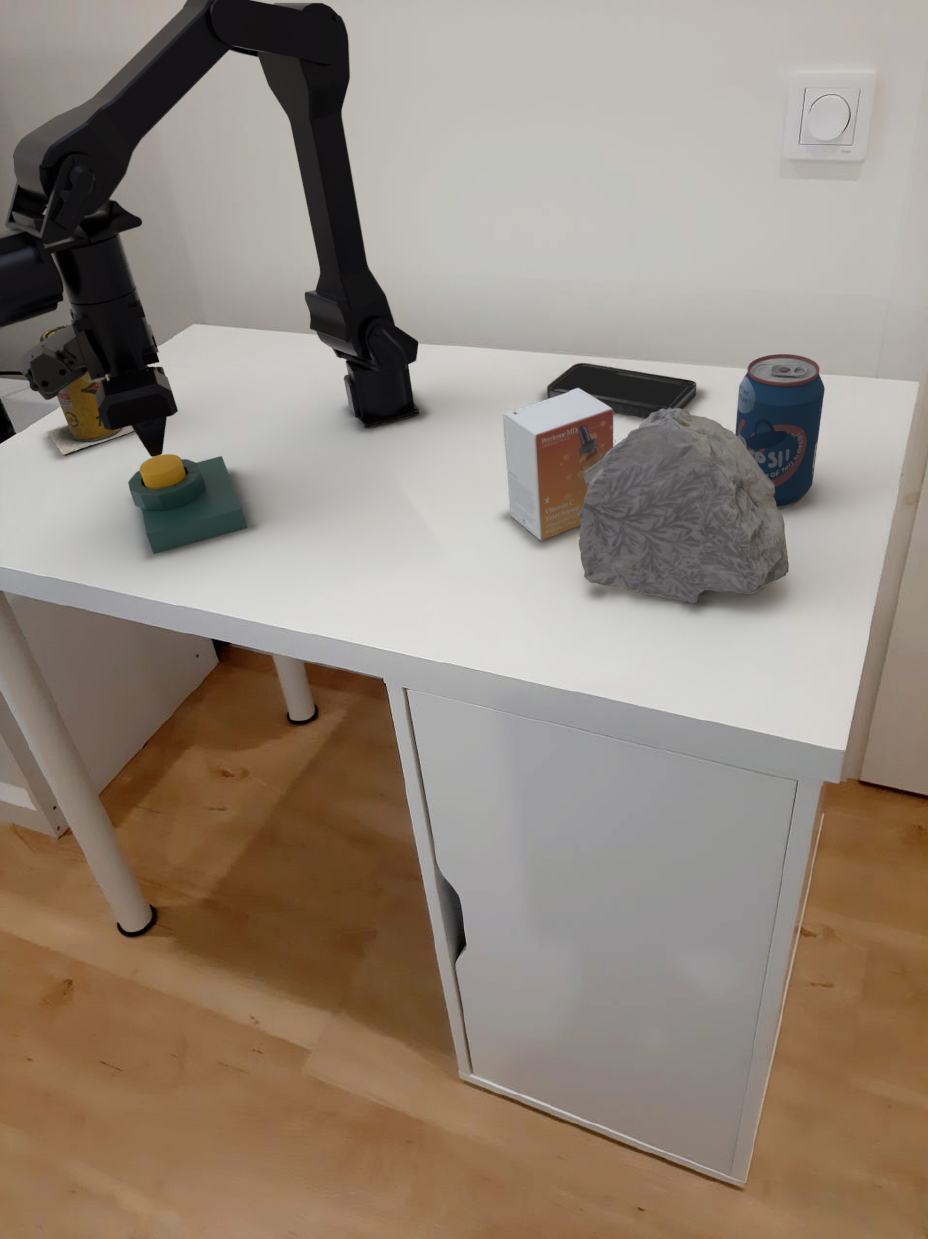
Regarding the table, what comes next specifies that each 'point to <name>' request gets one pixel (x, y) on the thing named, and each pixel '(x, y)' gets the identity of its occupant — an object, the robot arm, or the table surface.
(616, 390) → the phone
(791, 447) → the soda can
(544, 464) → the small box
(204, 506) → the teal square base
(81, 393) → the condiment
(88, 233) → the robot arm
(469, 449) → the table surface
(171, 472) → the cylinder
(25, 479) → the table surface
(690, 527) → the decorative rock
